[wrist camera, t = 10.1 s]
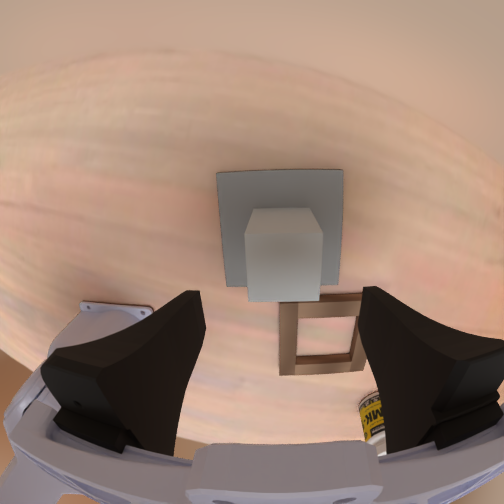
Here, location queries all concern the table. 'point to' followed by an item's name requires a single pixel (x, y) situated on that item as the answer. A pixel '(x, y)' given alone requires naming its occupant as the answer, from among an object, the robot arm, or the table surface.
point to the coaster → (279, 196)
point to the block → (283, 255)
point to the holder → (319, 309)
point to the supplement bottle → (373, 422)
